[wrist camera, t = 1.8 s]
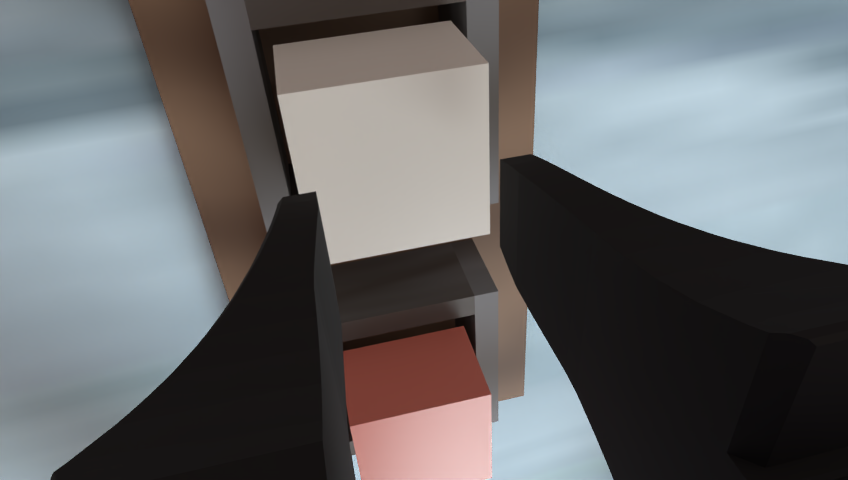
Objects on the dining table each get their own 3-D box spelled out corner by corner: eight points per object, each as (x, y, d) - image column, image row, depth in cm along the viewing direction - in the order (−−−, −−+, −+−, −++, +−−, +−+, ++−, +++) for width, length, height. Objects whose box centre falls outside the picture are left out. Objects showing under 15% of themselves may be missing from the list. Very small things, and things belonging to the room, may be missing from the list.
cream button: (272, 45, 14) (277, 94, 12) (450, 20, 15) (488, 63, 13) (306, 200, 17) (314, 267, 14) (457, 173, 17) (490, 234, 15)
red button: (338, 352, 20) (349, 426, 18) (463, 325, 21) (491, 394, 18) (355, 433, 23) (367, 508, 20) (467, 407, 23) (492, 477, 21)
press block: (91, -153, 15) (42, -137, 12) (525, -194, 17) (600, -191, 13) (278, 423, 28) (282, 515, 24) (512, 371, 30) (548, 450, 26)
